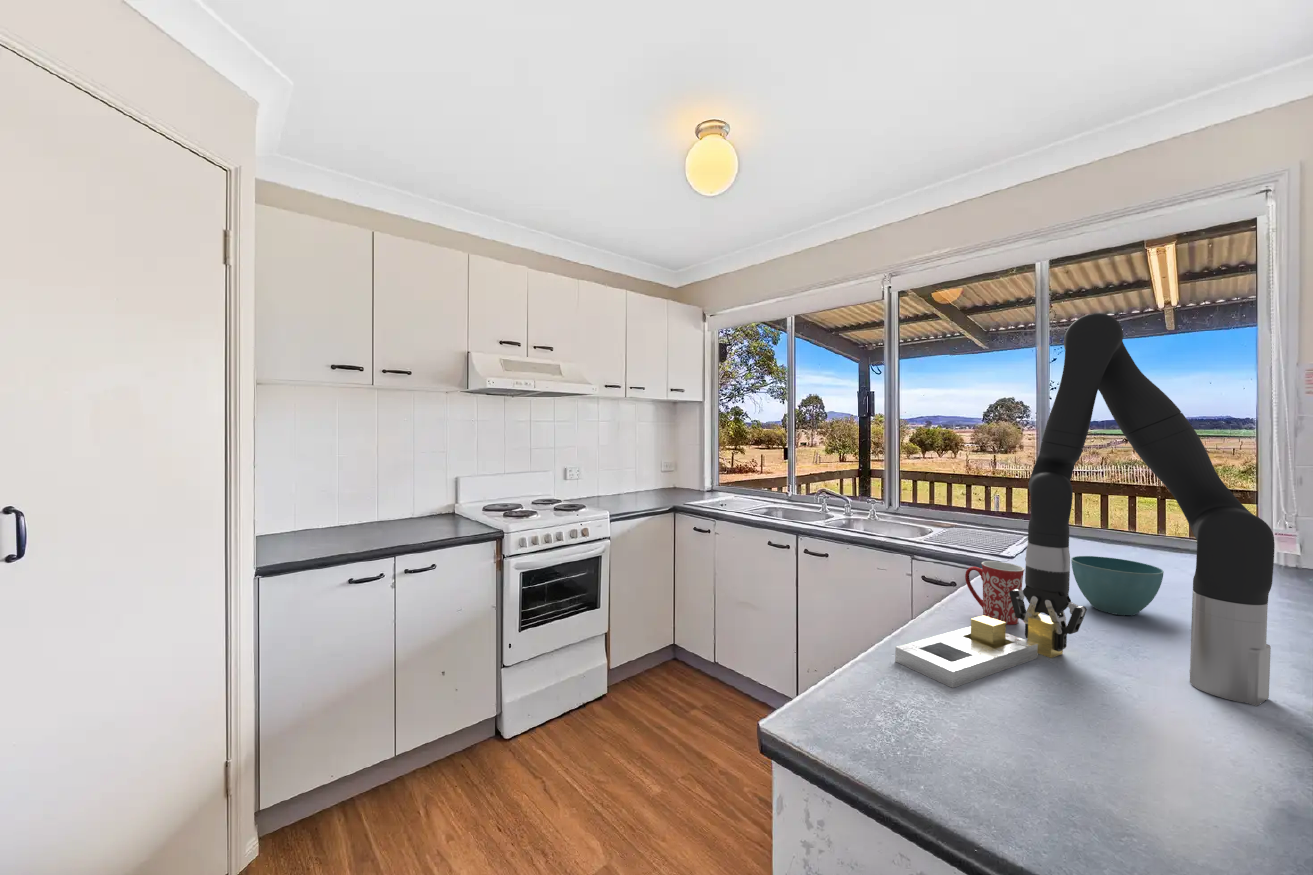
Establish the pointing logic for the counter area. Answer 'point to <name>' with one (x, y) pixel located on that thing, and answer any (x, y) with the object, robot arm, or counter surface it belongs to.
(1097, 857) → the counter surface
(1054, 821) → the counter surface
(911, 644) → the white socket board
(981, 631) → the seated brass block
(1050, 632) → the brass block
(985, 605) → the mug
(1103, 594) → the teal bowl
